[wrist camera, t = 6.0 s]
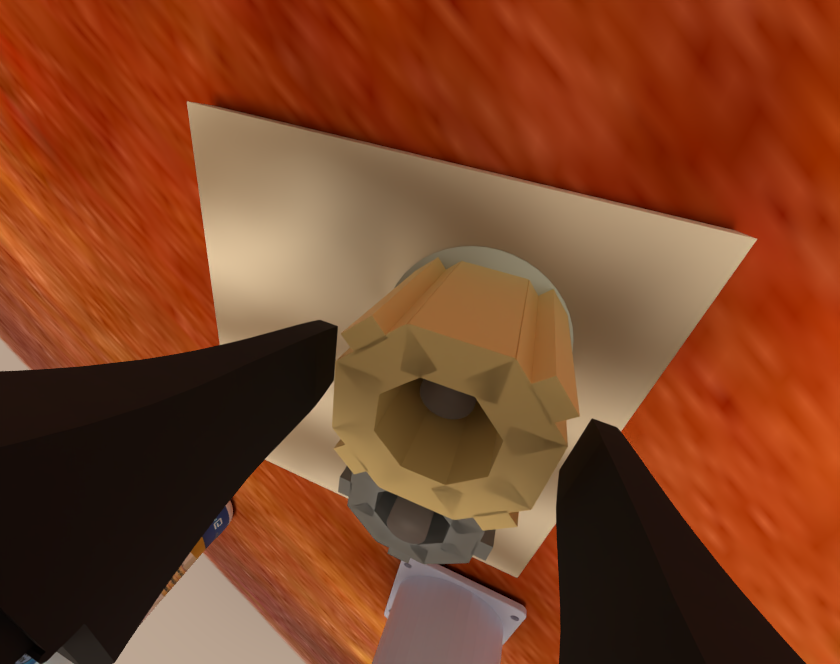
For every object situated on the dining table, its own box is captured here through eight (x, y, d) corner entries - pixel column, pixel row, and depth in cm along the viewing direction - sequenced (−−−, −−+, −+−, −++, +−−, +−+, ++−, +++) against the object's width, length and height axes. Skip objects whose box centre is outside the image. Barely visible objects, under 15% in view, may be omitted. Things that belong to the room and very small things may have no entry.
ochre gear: (523, 420, 13) (511, 545, 9) (395, 374, 14) (329, 465, 10) (580, 293, 10) (602, 386, 6) (416, 248, 11) (339, 301, 7)
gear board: (518, 555, 19) (510, 662, 15) (247, 431, 22) (181, 491, 18) (735, 230, 9) (867, 281, 6) (215, 106, 13) (67, 82, 9)
